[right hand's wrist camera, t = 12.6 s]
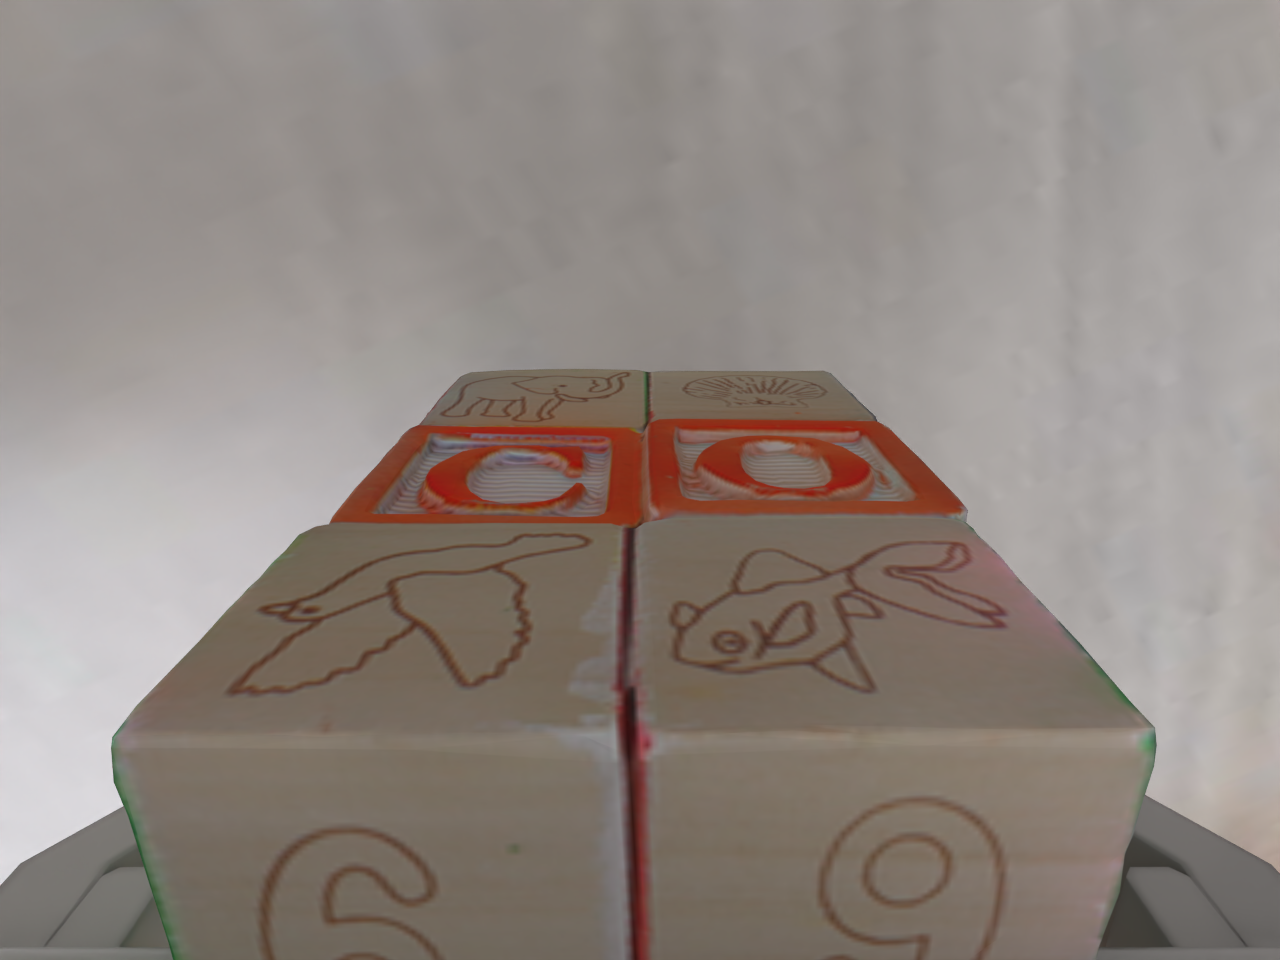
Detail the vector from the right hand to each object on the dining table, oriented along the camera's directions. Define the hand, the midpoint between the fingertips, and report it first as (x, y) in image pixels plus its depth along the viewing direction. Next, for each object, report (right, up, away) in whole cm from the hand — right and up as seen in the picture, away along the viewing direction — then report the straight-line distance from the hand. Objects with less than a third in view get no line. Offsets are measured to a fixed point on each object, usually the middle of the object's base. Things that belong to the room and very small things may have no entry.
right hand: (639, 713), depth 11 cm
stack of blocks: (0, -5, +6) cm, 8 cm away
